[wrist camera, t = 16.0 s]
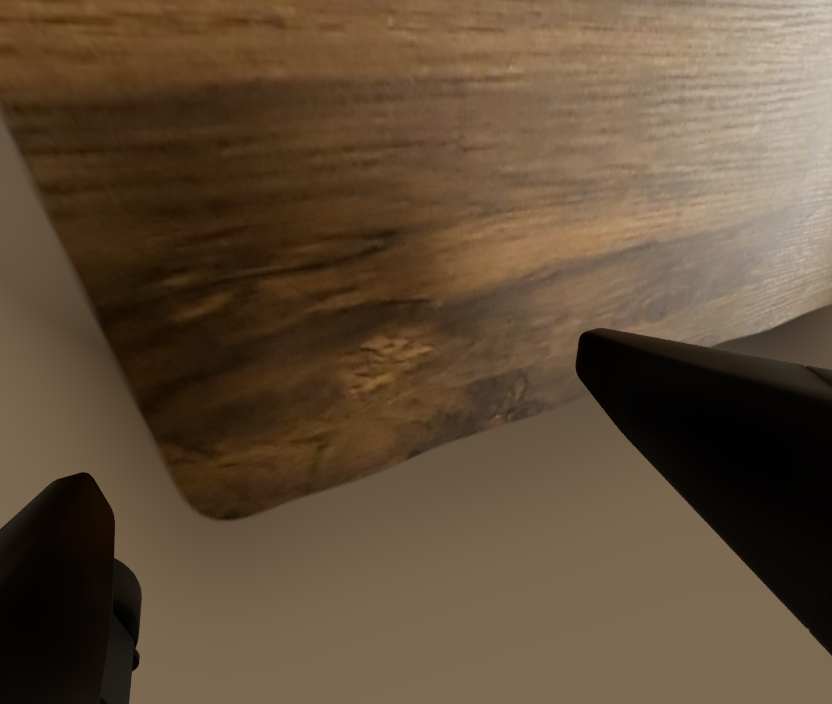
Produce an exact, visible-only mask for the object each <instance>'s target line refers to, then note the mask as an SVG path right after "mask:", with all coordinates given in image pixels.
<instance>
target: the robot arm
mask: <svg viewBox="0 0 832 704" xmlns="http://www.w3.org/2000/svg"><path fill="white" fill-rule="evenodd" d="M576 372H577V375H578V377H579V378H580V380H581V381H582V382H583V384H584V385H585V386H586V387H587V389H588V390H589V391H590V393H591V394H592V395H593V397H594V398H595V399H596V400H597V402H598V403H599V404H600V406H601V407H602V408H603V409H604V411H605V412H606V413H607V414H608V416H609V417H610V418H611V420H612V421H613V422H614V424H615V425H616V426H617V427H618V428H619V429H620V431H621V432H622V433H623V434H624V435H625V436H626V438H627V439H628V440H629V441H630V442H631V443H632V444H633V445H634V446H635V447H636V448H637V449H638V450H639V451H640V452H641V454H642V455H643V456H644V457H645V458H646V459H647V460H648V461H649V462H650V463H651V464H652V465H653V466H654V467H655V468H656V469H657V470H658V472H660V474H661V475H663V477H664V478H665V479H666V480H667V481H668V482H669V483H670V484H671V485H672V486H673V487H674V489H676V491H677V492H678V493H679V494H680V495H681V496H682V497H683V498H684V499H685V500H686V501H687V502H688V503H689V504H690V505H691V506H692V507H693V509H694V510H695V511H696V512H697V513H698V514H699V515H700V516H701V517H702V518H703V519H704V520H705V521H706V522H707V523H708V524H709V525H710V527H711V528H712V529H713V530H714V531H715V532H716V533H717V534H718V535H719V536H720V537H721V538H722V539H723V540H724V541H725V542H726V544H727V545H728V546H729V547H730V548H731V549H732V550H733V551H734V552H735V553H736V554H737V555H738V556H739V557H740V558H741V560H742V561H743V562H744V563H745V564H746V565H747V566H748V567H749V568H750V569H751V570H752V571H753V572H754V573H755V574H756V575H757V576H758V578H759V579H760V580H761V581H762V582H763V583H764V584H765V585H766V586H767V587H768V588H769V589H770V590H771V591H772V592H773V593H774V594H775V595H776V597H777V598H778V599H779V600H780V601H781V602H782V603H783V604H784V605H785V606H786V607H787V608H788V609H789V610H790V611H791V612H792V613H793V615H794V616H795V617H796V618H797V619H798V620H799V621H800V622H801V623H802V624H803V625H804V626H805V627H806V628H808V629H809V632H810V633H811V634H812V635H813V636H814V637H815V638H816V640H817V641H818V642H819V643H820V644H821V645H822V646H823V647H824V648H825V649H826V650H827V651H828V652H829V653H830V654H831V655H832V370H829V369H823V368H818V367H813V366H806V367H805V366H803V365H801V364H796V363H790V362H785V361H779V360H774V359H769V358H763V357H758V356H753V355H747V354H742V353H735V352H730V351H725V350H720V349H714V348H709V347H703V346H698V345H692V344H687V343H682V342H676V341H671V340H665V339H660V338H654V337H649V336H643V335H638V334H632V333H627V332H622V331H616V330H611V329H605V328H596V329H593V330H589V331H586V332H584V333H582V334H581V336H580V338H579V343H578V350H577V358H576ZM114 533H115V520H114V514H113V511H112V509H111V507H110V505H109V503H108V502H107V500H106V498H105V497H104V495H103V493H102V492H101V490H100V488H99V487H98V485H97V483H96V482H95V480H94V478H93V477H92V476H91V475H90V474H88V473H84V472H82V473H78V474H75V475H71V476H67V477H64V478H60V479H57V480H55V481H53V482H52V483H51V484H49V486H47V487H46V488H45V489H44V490H43V491H42V492H41V493H40V494H39V495H38V496H36V497H35V498H34V499H33V500H32V501H31V502H30V503H29V504H28V505H27V506H25V507H24V508H23V509H22V510H21V511H20V512H19V513H18V514H17V515H16V516H14V517H13V518H12V519H11V520H10V521H9V522H8V523H7V524H6V525H4V526H3V527H2V528H1V529H0V704H129V698H130V686H131V675H132V671H134V670H136V668H137V667H138V666H139V659H140V655H139V653H138V651H137V650H136V649H135V647H134V639H133V638H132V637H131V635H130V634H129V633H128V631H127V630H126V629H125V627H124V626H123V625H122V624H121V622H120V621H119V620H118V618H117V617H116V616H115V614H114V613H113V612H112V609H113V577H114V536H115V534H114Z"/></svg>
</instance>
